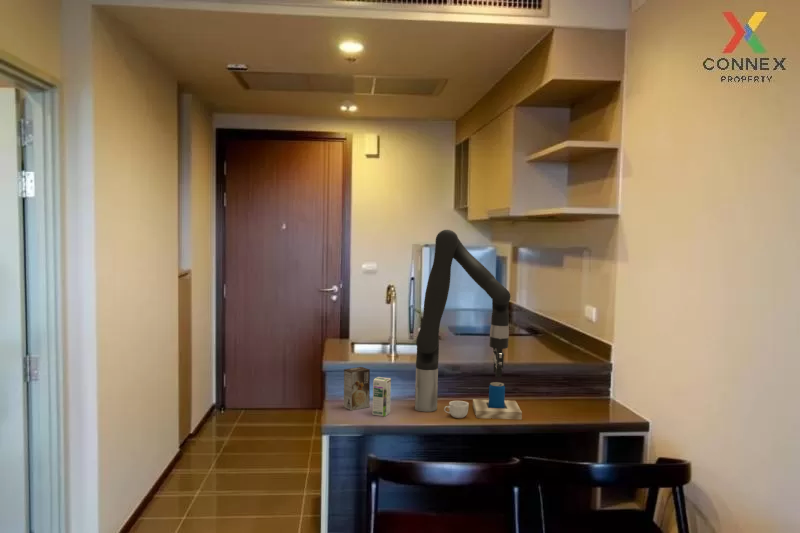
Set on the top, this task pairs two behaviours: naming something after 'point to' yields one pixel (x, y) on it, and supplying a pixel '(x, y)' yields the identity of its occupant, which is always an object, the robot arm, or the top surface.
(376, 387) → the syrup box
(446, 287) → the robot arm
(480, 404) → the holder plate
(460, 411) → the teacup
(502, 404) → the beverage can
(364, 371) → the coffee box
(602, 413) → the top surface
